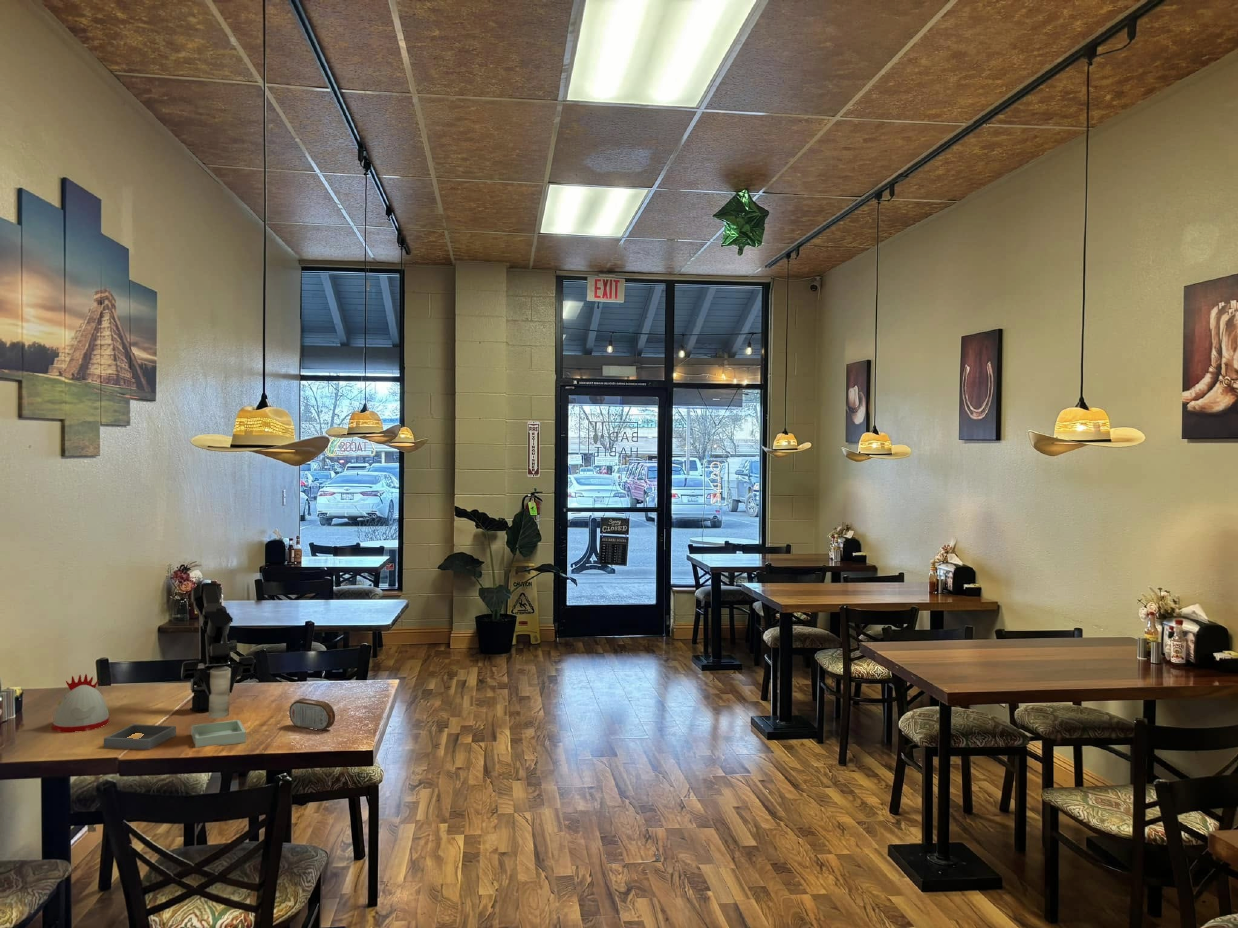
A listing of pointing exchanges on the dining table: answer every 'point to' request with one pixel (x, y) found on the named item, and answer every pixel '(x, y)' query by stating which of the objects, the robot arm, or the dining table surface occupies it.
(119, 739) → the charcoal bin
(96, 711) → the grey and red dome
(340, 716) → the dining table surface
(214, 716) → the beige cylinder
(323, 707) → the tin
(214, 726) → the sage bin
